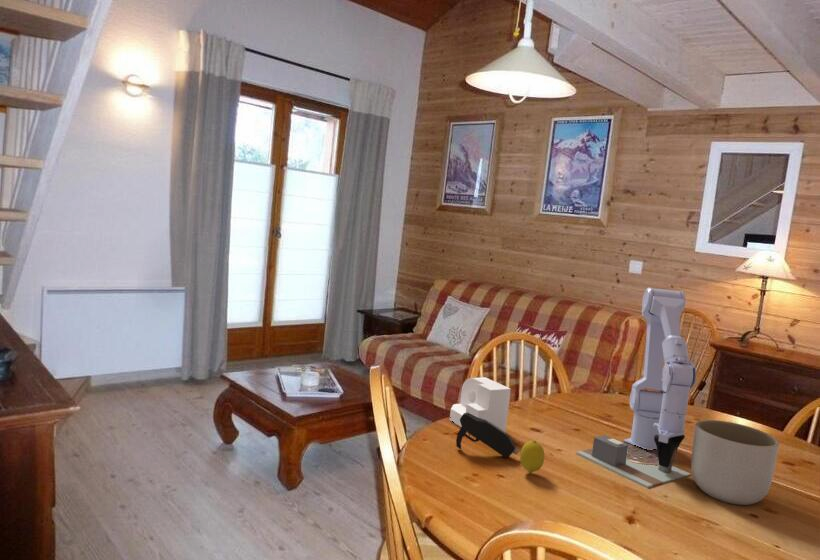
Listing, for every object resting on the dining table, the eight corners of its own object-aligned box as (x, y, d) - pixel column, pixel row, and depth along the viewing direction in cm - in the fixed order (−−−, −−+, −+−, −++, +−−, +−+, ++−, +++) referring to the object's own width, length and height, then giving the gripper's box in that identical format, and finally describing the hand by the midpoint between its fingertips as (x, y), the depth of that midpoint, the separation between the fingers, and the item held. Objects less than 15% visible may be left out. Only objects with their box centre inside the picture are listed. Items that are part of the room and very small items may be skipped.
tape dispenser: (505, 432, 165) (510, 388, 164) (475, 435, 160) (480, 390, 158) (471, 413, 179) (476, 373, 177) (442, 416, 173) (447, 374, 172)
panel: (619, 445, 164) (619, 443, 164) (690, 476, 146) (690, 473, 146) (576, 454, 153) (576, 451, 153) (647, 488, 136) (647, 486, 136)
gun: (500, 478, 146) (522, 446, 144) (446, 441, 148) (467, 409, 146) (501, 473, 149) (523, 442, 147) (447, 437, 151) (468, 405, 149)
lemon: (543, 471, 140) (547, 439, 139) (540, 480, 135) (544, 446, 134) (520, 466, 142) (524, 434, 141) (516, 474, 137) (520, 441, 136)
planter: (768, 521, 125) (779, 453, 124) (681, 495, 134) (691, 431, 133) (769, 494, 140) (779, 433, 138) (690, 472, 149) (699, 414, 147)
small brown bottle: (662, 466, 149) (666, 439, 149) (675, 472, 146) (680, 445, 146) (653, 468, 147) (657, 441, 147) (667, 474, 144) (671, 447, 143)
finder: (602, 453, 154) (605, 433, 154) (625, 464, 148) (628, 443, 148) (591, 456, 151) (594, 435, 151) (614, 466, 146) (617, 445, 145)
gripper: (663, 401, 153) (656, 451, 155) (649, 412, 142) (641, 466, 143) (692, 408, 149) (685, 459, 151) (680, 420, 138) (671, 475, 139)
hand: (665, 463), depth 147 cm, fingers closed on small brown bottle, 4 cm apart
